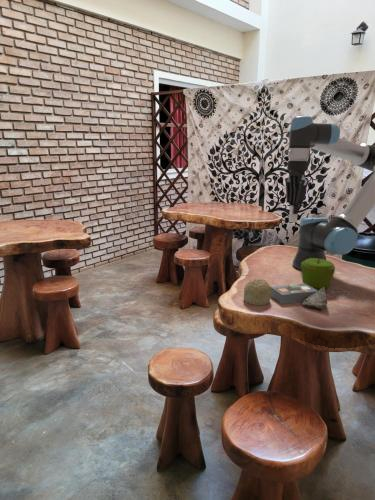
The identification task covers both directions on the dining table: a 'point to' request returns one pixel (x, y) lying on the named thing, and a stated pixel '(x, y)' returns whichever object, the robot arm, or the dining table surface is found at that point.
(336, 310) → the dining table surface
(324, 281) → the apple
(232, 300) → the dining table surface
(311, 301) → the rock sample
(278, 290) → the key
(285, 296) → the keypad
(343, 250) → the robot arm
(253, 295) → the decorative object
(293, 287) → the key
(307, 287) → the key
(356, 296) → the dining table surface
